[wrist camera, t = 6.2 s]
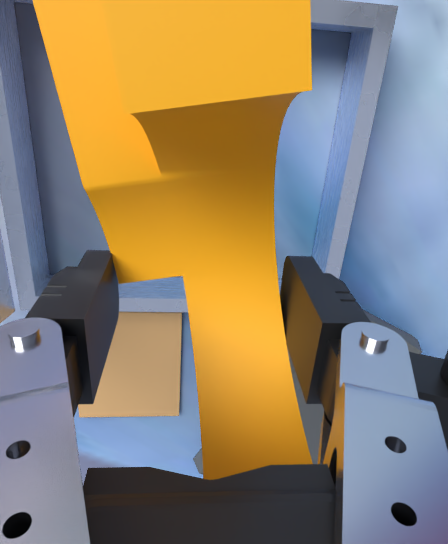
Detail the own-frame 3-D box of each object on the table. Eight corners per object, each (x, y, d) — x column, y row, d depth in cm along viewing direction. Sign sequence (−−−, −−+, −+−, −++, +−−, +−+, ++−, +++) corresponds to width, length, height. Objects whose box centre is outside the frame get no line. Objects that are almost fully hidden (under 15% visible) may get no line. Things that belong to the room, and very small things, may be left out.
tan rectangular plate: (182, 310, 30) (182, 313, 30) (179, 412, 34) (179, 415, 34) (68, 308, 29) (67, 311, 29) (80, 413, 34) (79, 417, 33)
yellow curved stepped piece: (76, 17, 10) (-68, -47, 5) (245, -4, 10) (309, -93, 5) (161, 380, 16) (143, 559, 10) (273, 365, 16) (319, 534, 10)
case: (378, -18, 22) (405, -29, 19) (318, 292, 30) (331, 314, 28) (-16, -60, 20) (-47, -79, 17) (36, 287, 28) (20, 310, 25)
